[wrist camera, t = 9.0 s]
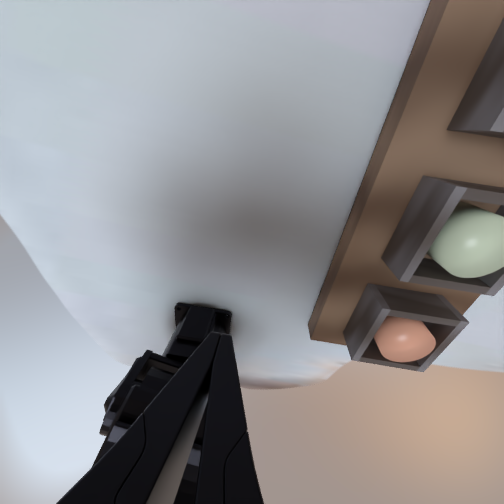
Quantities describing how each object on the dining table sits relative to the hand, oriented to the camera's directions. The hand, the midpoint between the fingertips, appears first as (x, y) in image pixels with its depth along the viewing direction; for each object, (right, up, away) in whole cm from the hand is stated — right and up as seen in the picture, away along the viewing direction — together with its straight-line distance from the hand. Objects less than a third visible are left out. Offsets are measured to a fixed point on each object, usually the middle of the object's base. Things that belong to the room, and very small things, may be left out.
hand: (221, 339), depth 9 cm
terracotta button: (+14, -3, +11) cm, 18 cm away
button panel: (+15, +6, +9) cm, 19 cm away
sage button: (+15, +5, +7) cm, 17 cm away
